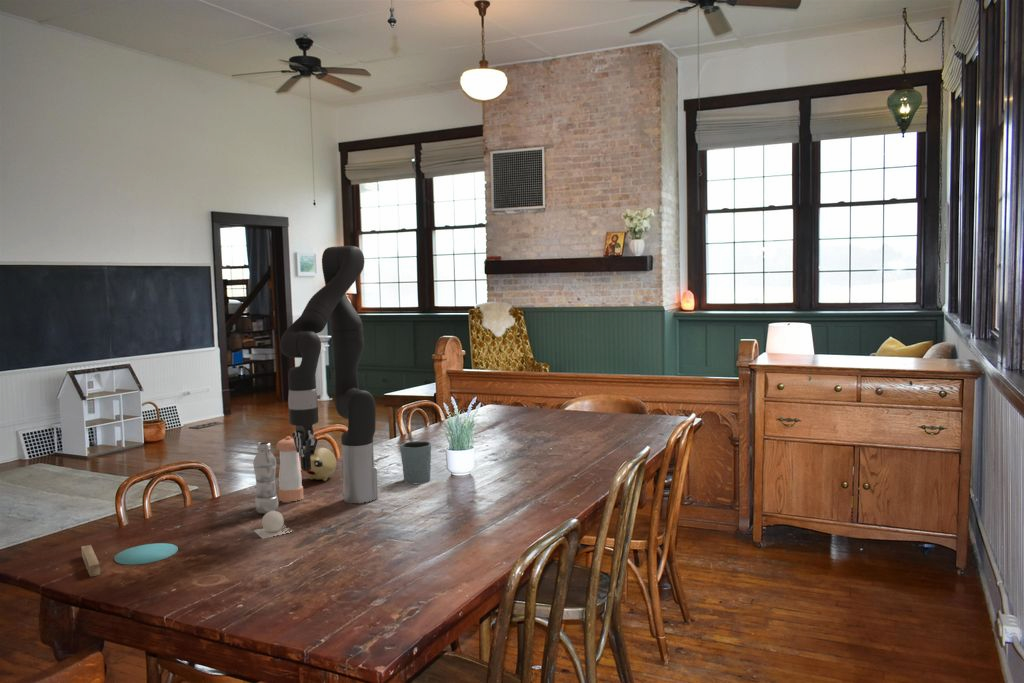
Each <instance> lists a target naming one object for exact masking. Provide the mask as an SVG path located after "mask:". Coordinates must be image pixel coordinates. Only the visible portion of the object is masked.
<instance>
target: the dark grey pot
mask: <svg viewBox="0 0 1024 683" xmlns="http://www.w3.org/2000/svg"><path fill="white" fill-rule="evenodd" d="M399 447H400V456H401V464H402V473H403V482H404V481H405V482H404V483H406V482H407V483H406V484H410V483H420V484H426V483H428V482H431V470H432V465H431V463H432V459H431V458H432V443H431V442H430V441H421V440H419V441H418V440H417V441H407V442H404V443H401V444H400V445H399ZM425 482H426V483H425Z"/></svg>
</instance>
